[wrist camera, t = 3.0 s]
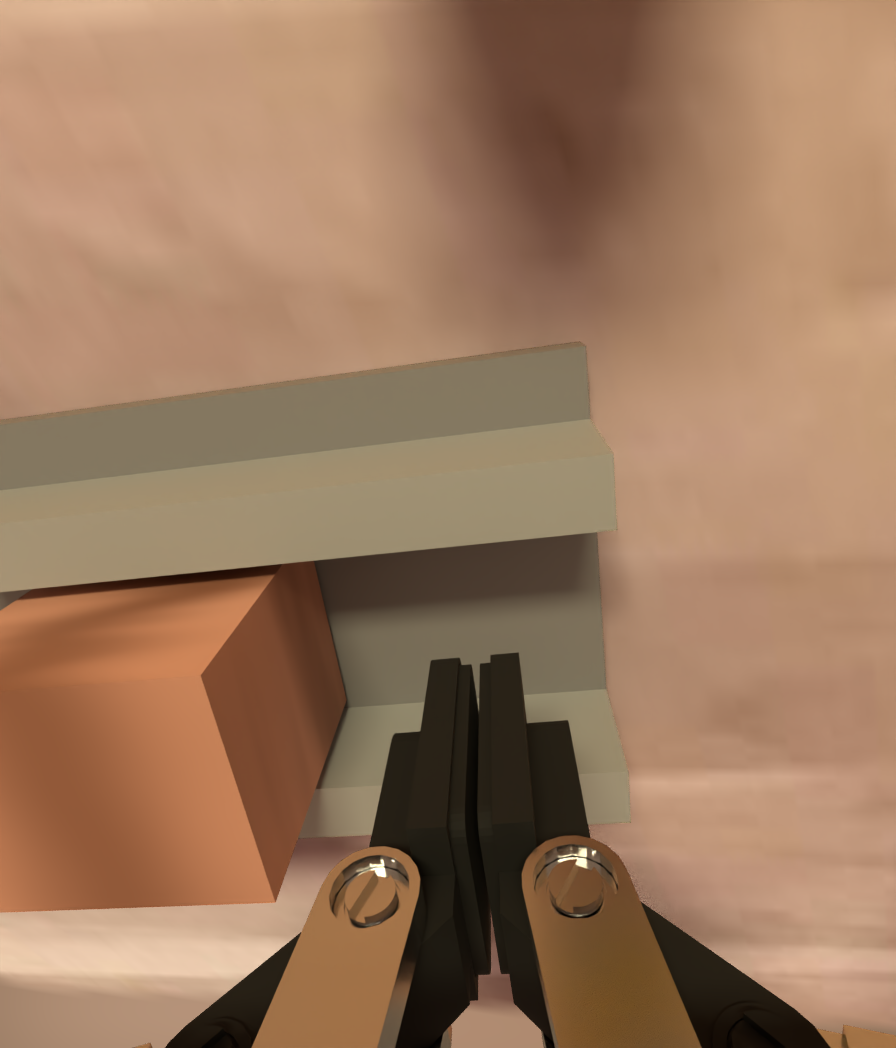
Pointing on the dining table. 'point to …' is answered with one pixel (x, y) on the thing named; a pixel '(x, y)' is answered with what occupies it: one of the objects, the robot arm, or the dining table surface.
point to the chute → (358, 533)
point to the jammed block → (162, 737)
